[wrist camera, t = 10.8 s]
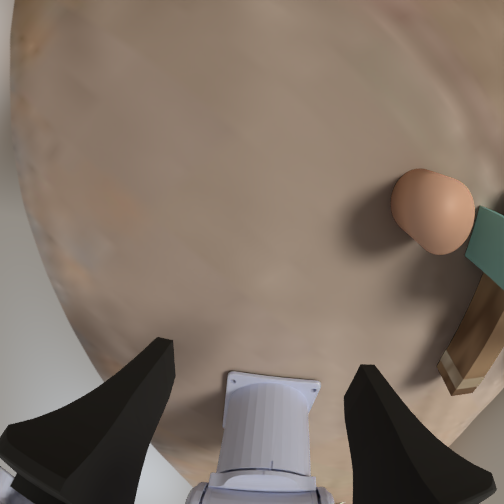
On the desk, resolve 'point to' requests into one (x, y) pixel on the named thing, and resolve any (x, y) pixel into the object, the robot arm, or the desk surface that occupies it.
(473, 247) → the teal angular block
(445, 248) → the bead
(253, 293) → the desk surface
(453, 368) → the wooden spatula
